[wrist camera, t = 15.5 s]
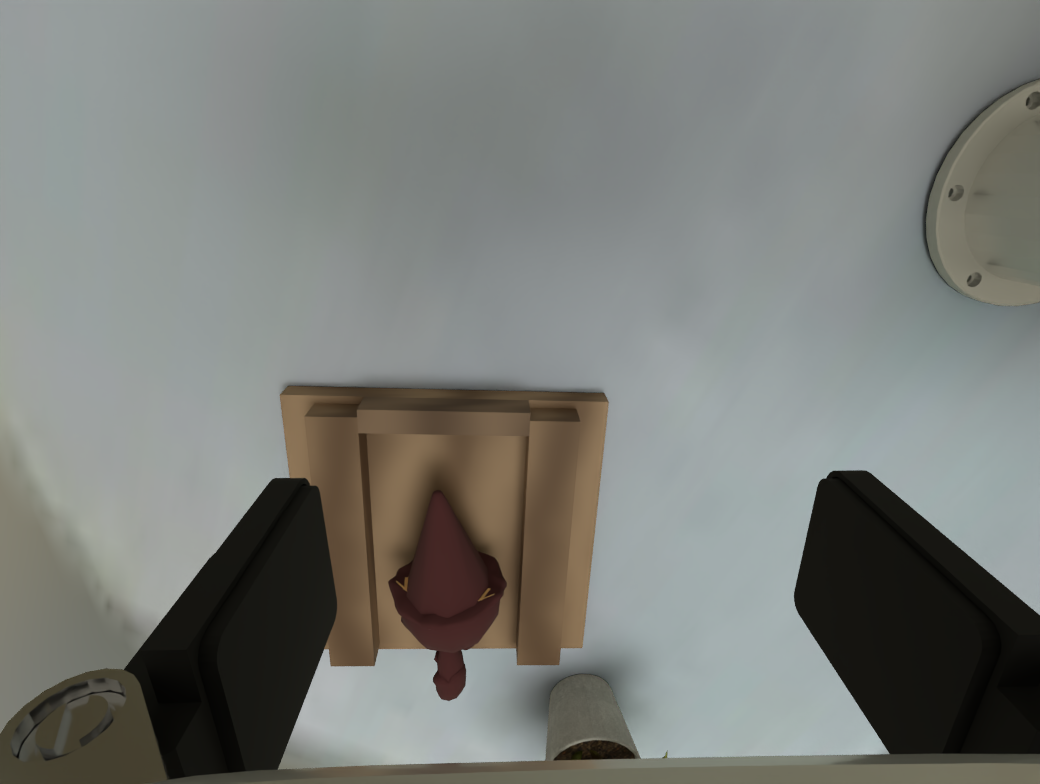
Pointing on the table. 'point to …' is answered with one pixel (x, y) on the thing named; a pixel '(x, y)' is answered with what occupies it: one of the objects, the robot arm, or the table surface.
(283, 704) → the robot arm
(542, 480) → the cradle
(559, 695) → the house plant
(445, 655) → the icecream
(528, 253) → the table surface
